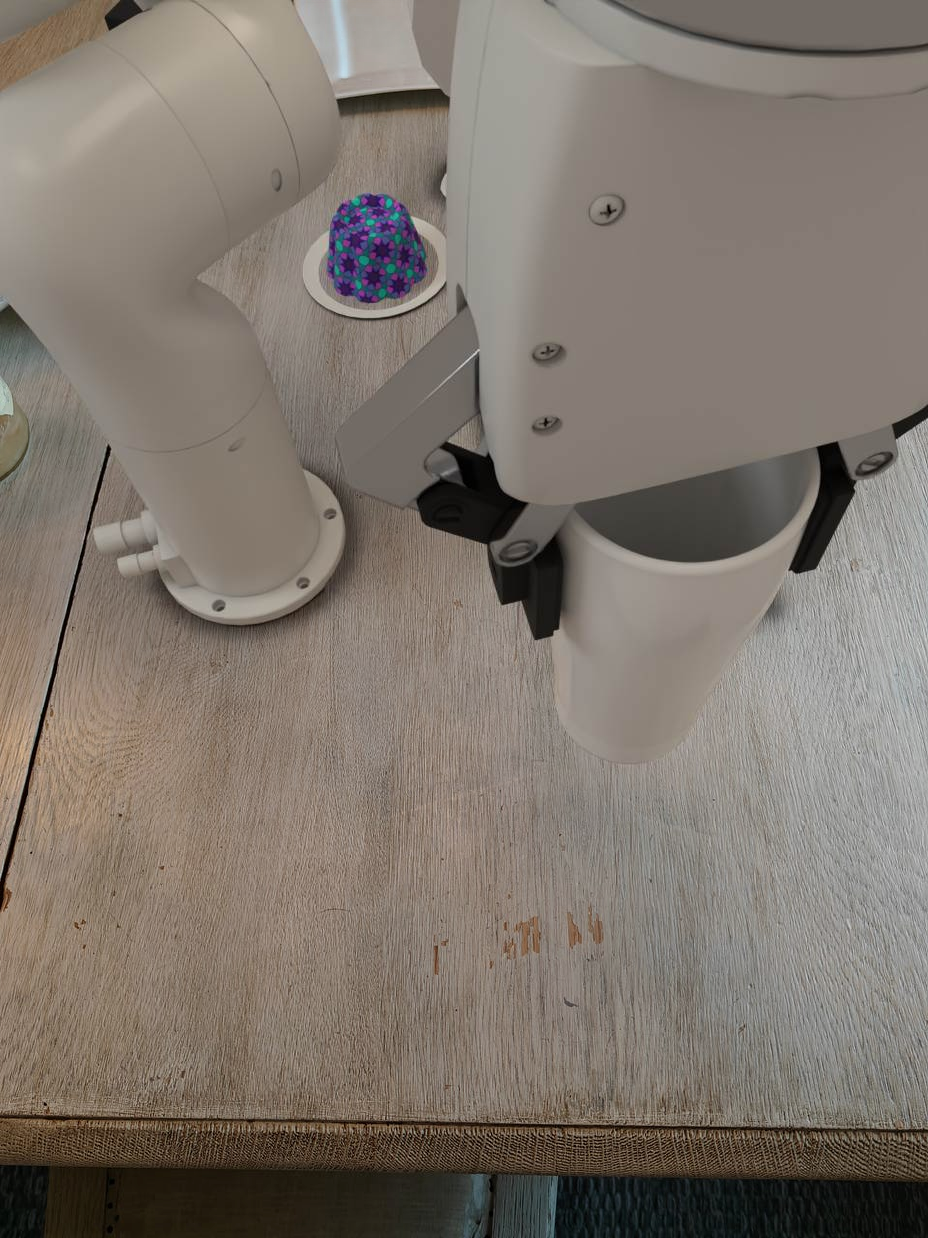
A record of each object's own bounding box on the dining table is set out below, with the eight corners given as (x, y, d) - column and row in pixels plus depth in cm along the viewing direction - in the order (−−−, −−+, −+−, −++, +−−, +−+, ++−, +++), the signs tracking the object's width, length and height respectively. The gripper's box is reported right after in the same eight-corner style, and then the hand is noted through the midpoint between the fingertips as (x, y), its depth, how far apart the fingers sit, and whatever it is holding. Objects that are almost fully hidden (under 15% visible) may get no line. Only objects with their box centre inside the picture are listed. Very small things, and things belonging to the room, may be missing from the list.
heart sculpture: (604, 146, 82) (620, -92, 66) (616, 183, 80) (636, -54, 64) (426, 171, 82) (400, -61, 66) (432, 209, 80) (407, -22, 64)
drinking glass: (702, 621, 38) (798, 343, 25) (727, 786, 34) (852, 568, 21) (530, 627, 38) (534, 356, 25) (539, 791, 35) (548, 580, 22)
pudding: (476, 295, 74) (472, 239, 70) (330, 344, 73) (316, 290, 68) (422, 204, 80) (415, 146, 76) (286, 247, 79) (271, 191, 74)
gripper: (1270, -413, 14) (879, 399, 30) (112, -201, 13) (337, 530, 29) (1705, -190, 11) (1003, 599, 26) (167, 131, 9) (389, 759, 25)
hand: (656, 560), depth 27 cm, fingers closed on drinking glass, 6 cm apart
